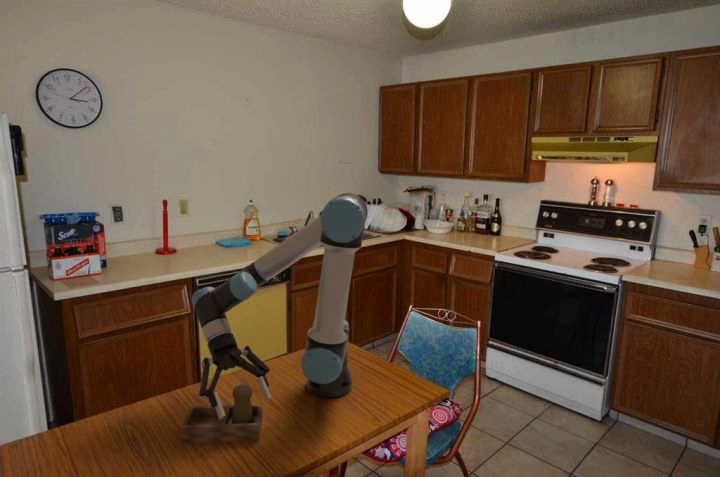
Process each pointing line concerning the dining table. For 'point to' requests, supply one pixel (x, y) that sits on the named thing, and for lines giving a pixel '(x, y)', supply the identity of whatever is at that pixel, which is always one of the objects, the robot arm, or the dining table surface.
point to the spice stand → (219, 425)
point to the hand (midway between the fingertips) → (246, 408)
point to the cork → (242, 405)
